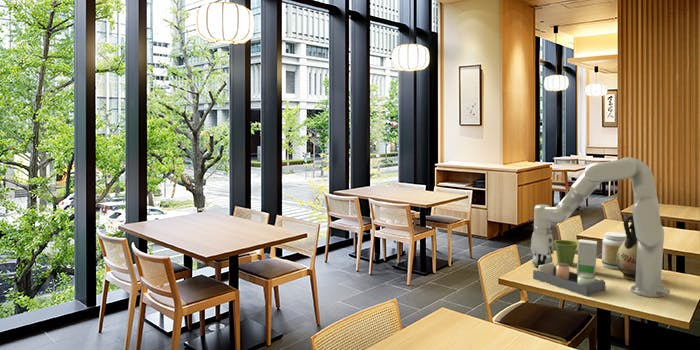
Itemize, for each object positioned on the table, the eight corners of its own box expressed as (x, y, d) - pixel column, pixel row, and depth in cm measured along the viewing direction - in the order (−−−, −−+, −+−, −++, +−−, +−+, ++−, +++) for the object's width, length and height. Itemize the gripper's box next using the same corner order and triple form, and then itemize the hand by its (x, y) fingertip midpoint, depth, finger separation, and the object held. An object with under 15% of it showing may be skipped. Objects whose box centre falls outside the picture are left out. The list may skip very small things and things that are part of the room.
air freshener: (536, 262, 263) (537, 244, 262) (553, 264, 258) (553, 246, 257) (531, 267, 254) (531, 248, 253) (548, 270, 249) (548, 250, 248)
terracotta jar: (571, 283, 229) (572, 264, 228) (563, 285, 226) (564, 266, 225) (561, 280, 234) (561, 261, 233) (553, 282, 231) (553, 263, 230)
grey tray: (605, 290, 219) (605, 279, 218) (586, 296, 212) (586, 284, 212) (551, 274, 243) (551, 264, 242) (533, 278, 237) (533, 268, 236)
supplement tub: (620, 263, 259) (621, 231, 258) (633, 270, 247) (635, 236, 245) (596, 263, 259) (598, 231, 258) (609, 270, 247) (610, 237, 245)
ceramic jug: (631, 271, 246) (634, 211, 242) (660, 280, 231) (664, 216, 228) (605, 275, 240) (607, 214, 236) (633, 285, 225) (636, 220, 222)
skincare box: (576, 272, 244) (577, 241, 243) (577, 269, 250) (578, 238, 248) (595, 275, 240) (596, 243, 239) (596, 271, 246) (597, 240, 244)
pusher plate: (553, 275, 240) (553, 263, 239) (539, 278, 235) (540, 266, 234) (544, 272, 244) (545, 260, 244) (531, 275, 239) (531, 263, 239)
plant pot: (579, 262, 262) (579, 241, 261) (575, 268, 252) (576, 246, 251) (555, 259, 268) (555, 238, 267) (551, 264, 258) (551, 243, 257)
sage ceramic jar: (597, 292, 217) (598, 277, 216) (583, 293, 216) (584, 278, 215) (587, 286, 224) (588, 272, 223) (573, 287, 223) (574, 273, 222)
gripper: (560, 232, 233) (559, 270, 235) (534, 226, 246) (533, 263, 248) (549, 234, 230) (548, 273, 232) (524, 228, 243) (523, 265, 245)
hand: (541, 267), depth 240 cm, fingers closed
